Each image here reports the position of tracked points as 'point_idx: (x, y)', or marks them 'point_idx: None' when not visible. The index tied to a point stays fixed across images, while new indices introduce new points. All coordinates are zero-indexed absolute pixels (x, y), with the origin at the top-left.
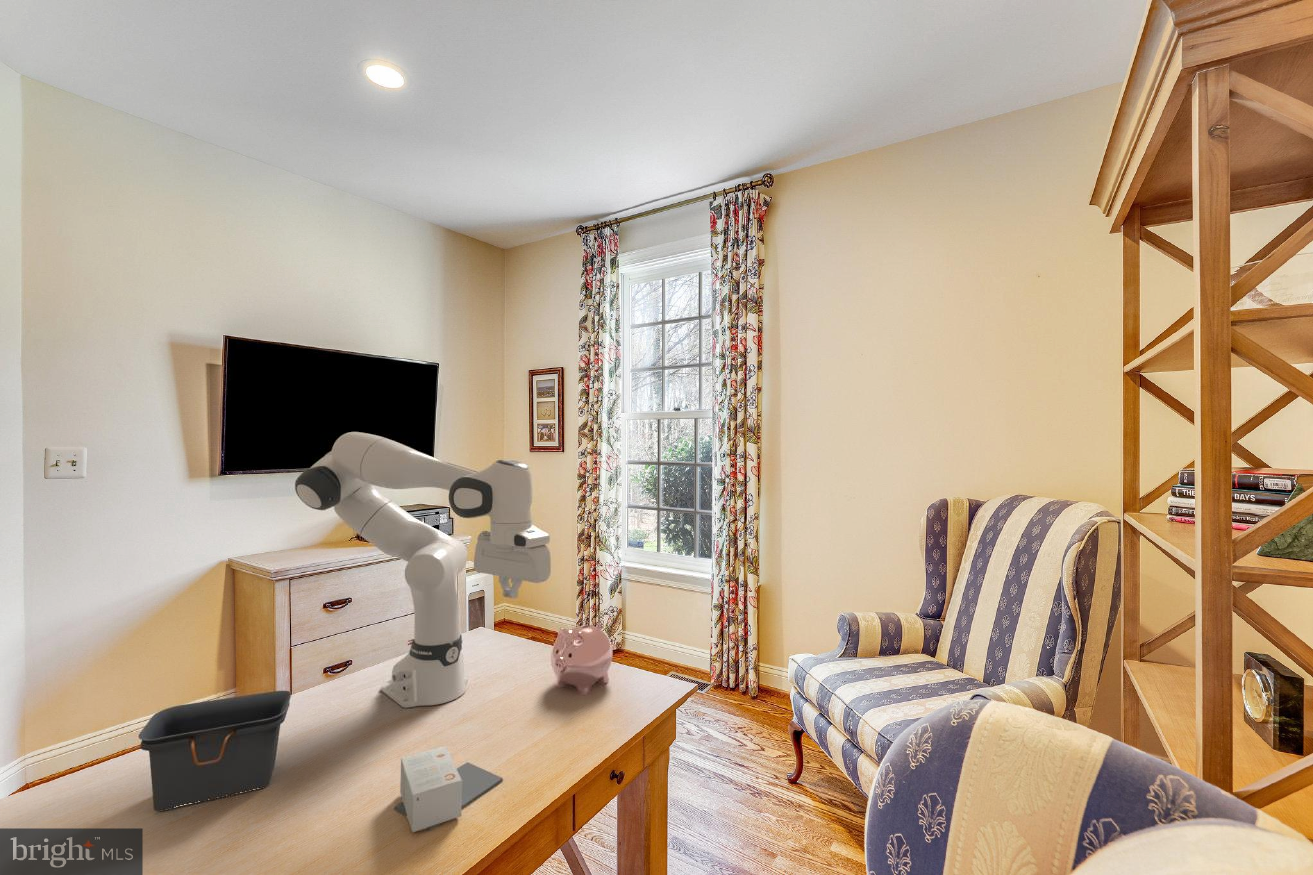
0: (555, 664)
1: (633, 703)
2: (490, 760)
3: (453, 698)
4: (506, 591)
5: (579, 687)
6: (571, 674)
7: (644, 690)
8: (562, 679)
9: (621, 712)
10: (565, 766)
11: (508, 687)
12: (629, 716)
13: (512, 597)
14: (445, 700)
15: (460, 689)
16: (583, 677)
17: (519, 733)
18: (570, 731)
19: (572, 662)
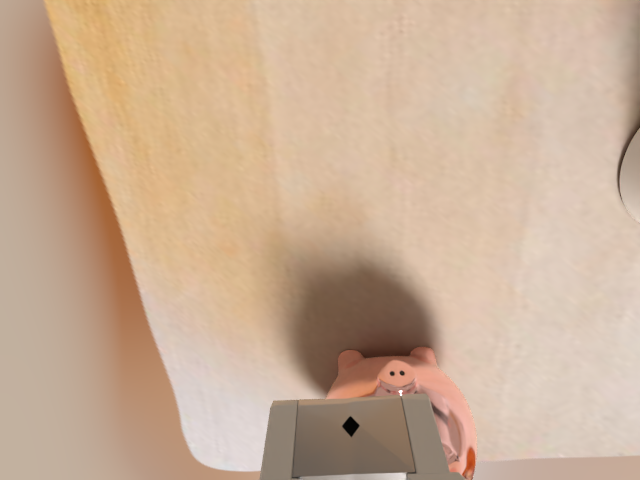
0: (408, 371)
1: (231, 377)
2: (291, 22)
3: (625, 161)
4: (368, 452)
5: (353, 359)
6: (362, 369)
7: (253, 422)
8: (396, 356)
9: (221, 341)
10: (134, 122)
11: (531, 286)
12: (196, 338)
13: (270, 408)
14: (638, 138)
15: (634, 194)
16: (339, 378)
17: (333, 154)
18: (244, 230)
19: (362, 394)
